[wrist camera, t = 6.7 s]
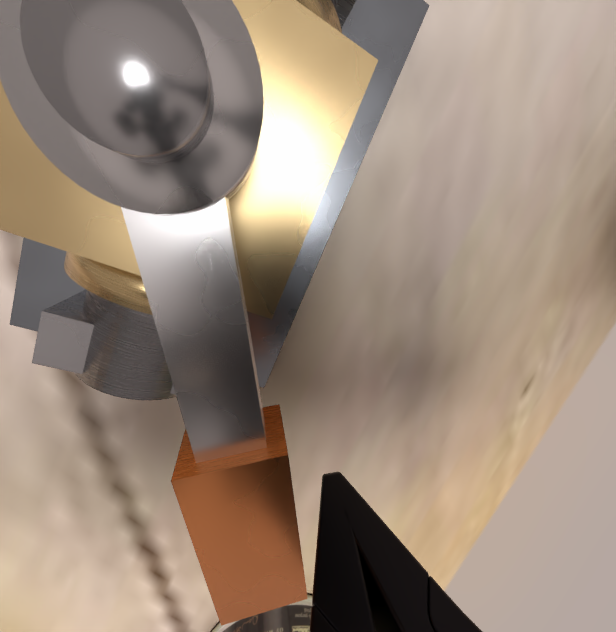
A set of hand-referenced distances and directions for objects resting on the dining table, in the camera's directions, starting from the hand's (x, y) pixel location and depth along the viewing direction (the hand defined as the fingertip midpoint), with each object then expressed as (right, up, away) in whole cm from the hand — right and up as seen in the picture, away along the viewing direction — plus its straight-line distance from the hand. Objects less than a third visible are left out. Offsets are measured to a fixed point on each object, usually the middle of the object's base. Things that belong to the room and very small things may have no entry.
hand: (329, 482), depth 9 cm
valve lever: (-3, +4, -2) cm, 5 cm away
